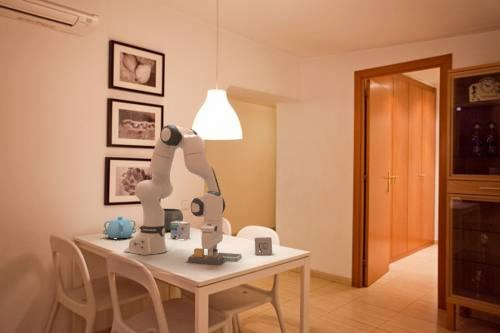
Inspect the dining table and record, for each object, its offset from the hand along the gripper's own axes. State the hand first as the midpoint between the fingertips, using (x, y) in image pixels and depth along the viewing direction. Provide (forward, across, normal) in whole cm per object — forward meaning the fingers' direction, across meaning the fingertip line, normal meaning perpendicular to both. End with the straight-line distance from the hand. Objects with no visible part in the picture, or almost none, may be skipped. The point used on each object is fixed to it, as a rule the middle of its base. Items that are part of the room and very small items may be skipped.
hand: (212, 254), depth 177 cm
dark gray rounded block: (+5, -77, -60) cm, 98 cm away
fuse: (+4, 0, -7) cm, 8 cm away
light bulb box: (+5, -53, -40) cm, 67 cm away
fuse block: (+5, 0, -3) cm, 6 cm away
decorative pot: (+5, -43, -77) cm, 89 cm away
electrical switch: (+5, -28, +19) cm, 34 cm away
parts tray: (+5, -10, +5) cm, 12 cm away
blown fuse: (+4, 0, 0) cm, 4 cm away
